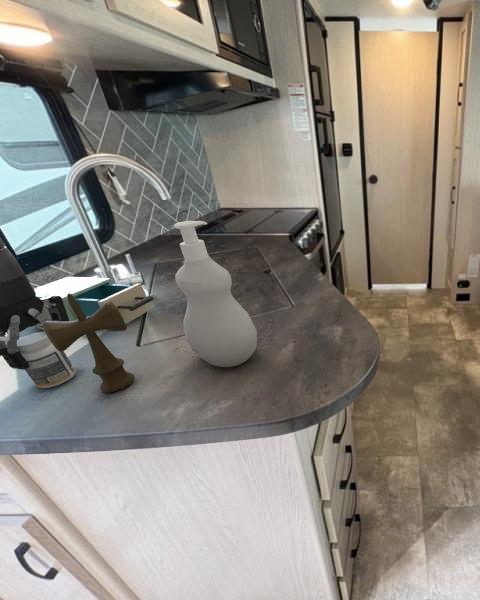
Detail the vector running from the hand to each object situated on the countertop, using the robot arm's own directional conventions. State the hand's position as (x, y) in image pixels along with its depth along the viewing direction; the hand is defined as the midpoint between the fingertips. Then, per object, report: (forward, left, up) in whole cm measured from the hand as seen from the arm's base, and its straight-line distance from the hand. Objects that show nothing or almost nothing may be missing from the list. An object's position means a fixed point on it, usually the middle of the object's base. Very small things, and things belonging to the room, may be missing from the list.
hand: (43, 357), depth 61 cm
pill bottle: (0, 0, -6) cm, 6 cm away
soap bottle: (+30, +11, -6) cm, 33 cm away
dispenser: (-21, +23, -6) cm, 31 cm away
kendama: (+14, 0, -6) cm, 15 cm away
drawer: (-8, +22, -5) cm, 24 cm away
